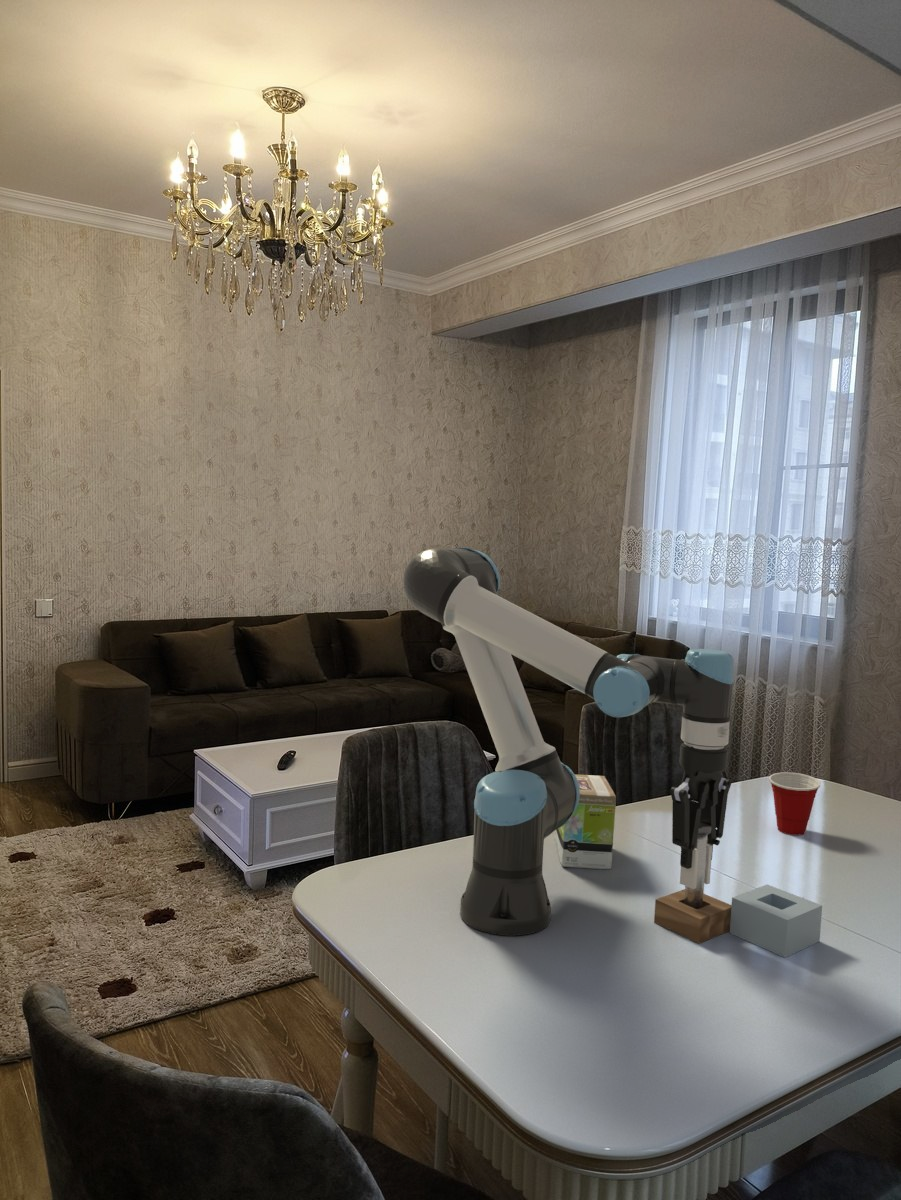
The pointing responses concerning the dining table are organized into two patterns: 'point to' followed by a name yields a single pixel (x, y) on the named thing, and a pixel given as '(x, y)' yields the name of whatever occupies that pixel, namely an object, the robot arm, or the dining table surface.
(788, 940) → the socket block
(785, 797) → the plastic cup
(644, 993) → the dining table surface
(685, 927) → the mount block
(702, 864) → the lock pin
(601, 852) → the tea box
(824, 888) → the dining table surface
